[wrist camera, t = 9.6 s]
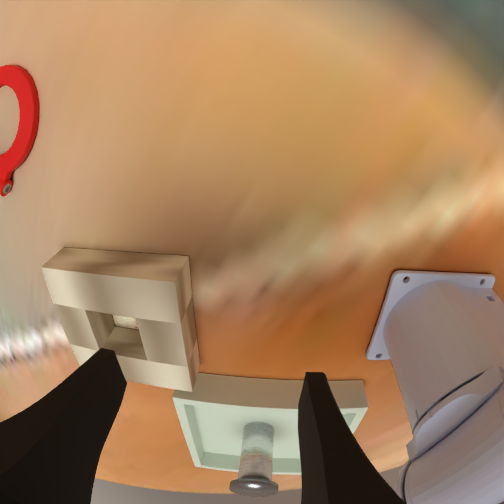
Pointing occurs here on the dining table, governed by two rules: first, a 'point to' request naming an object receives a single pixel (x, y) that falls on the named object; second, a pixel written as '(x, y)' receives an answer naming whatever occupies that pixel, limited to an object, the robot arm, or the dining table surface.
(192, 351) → the pin block
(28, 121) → the tow hook
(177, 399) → the tray
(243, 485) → the steel pin
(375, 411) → the dining table surface
